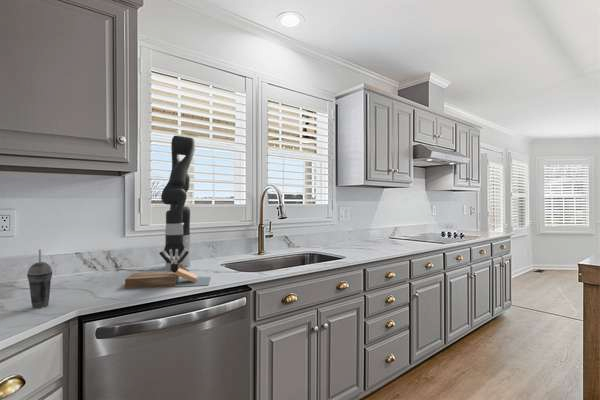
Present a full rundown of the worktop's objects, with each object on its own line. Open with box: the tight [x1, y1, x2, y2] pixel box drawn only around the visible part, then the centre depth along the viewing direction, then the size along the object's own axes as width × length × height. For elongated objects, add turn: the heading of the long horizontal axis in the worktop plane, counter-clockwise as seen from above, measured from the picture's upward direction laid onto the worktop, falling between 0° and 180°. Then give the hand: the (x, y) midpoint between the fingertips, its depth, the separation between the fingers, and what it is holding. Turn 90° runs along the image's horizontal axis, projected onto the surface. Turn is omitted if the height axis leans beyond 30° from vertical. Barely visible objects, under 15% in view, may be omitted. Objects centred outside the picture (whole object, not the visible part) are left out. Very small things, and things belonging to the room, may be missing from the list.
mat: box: [173, 276, 211, 288], centre depth 157 cm, size 16×14×1 cm
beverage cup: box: [26, 249, 53, 309], centre depth 123 cm, size 7×7×20 cm
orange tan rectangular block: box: [175, 268, 199, 283], centre depth 157 cm, size 6×9×2 cm, turn 101°
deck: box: [124, 271, 180, 290], centre depth 154 cm, size 12×20×4 cm, turn 101°
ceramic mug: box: [164, 258, 190, 272], centre depth 175 cm, size 11×8×8 cm
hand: (174, 272), depth 156 cm, fingers closed
